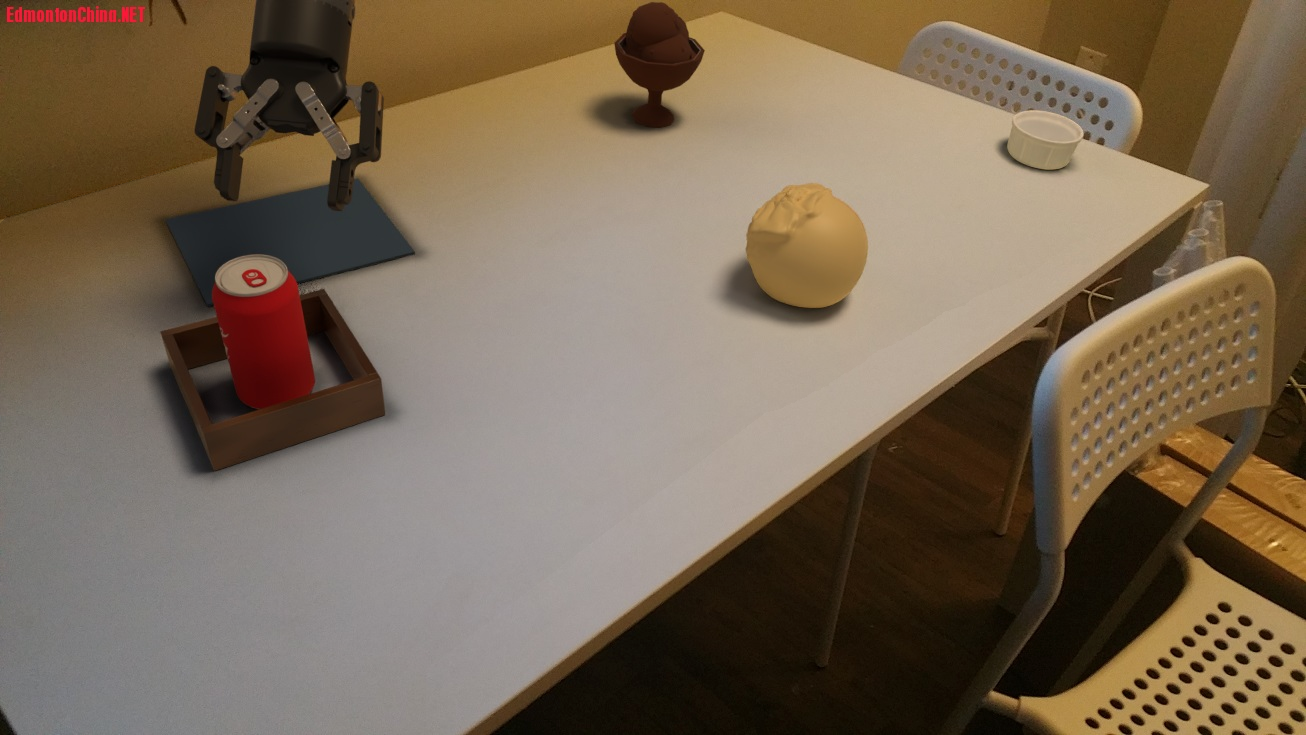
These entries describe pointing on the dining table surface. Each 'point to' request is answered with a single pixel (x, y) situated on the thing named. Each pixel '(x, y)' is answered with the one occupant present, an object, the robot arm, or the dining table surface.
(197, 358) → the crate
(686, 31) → the ice cream bowl
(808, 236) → the sculpture
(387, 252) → the cloth mat
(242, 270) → the beverage can
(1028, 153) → the ramekin
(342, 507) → the dining table surface
